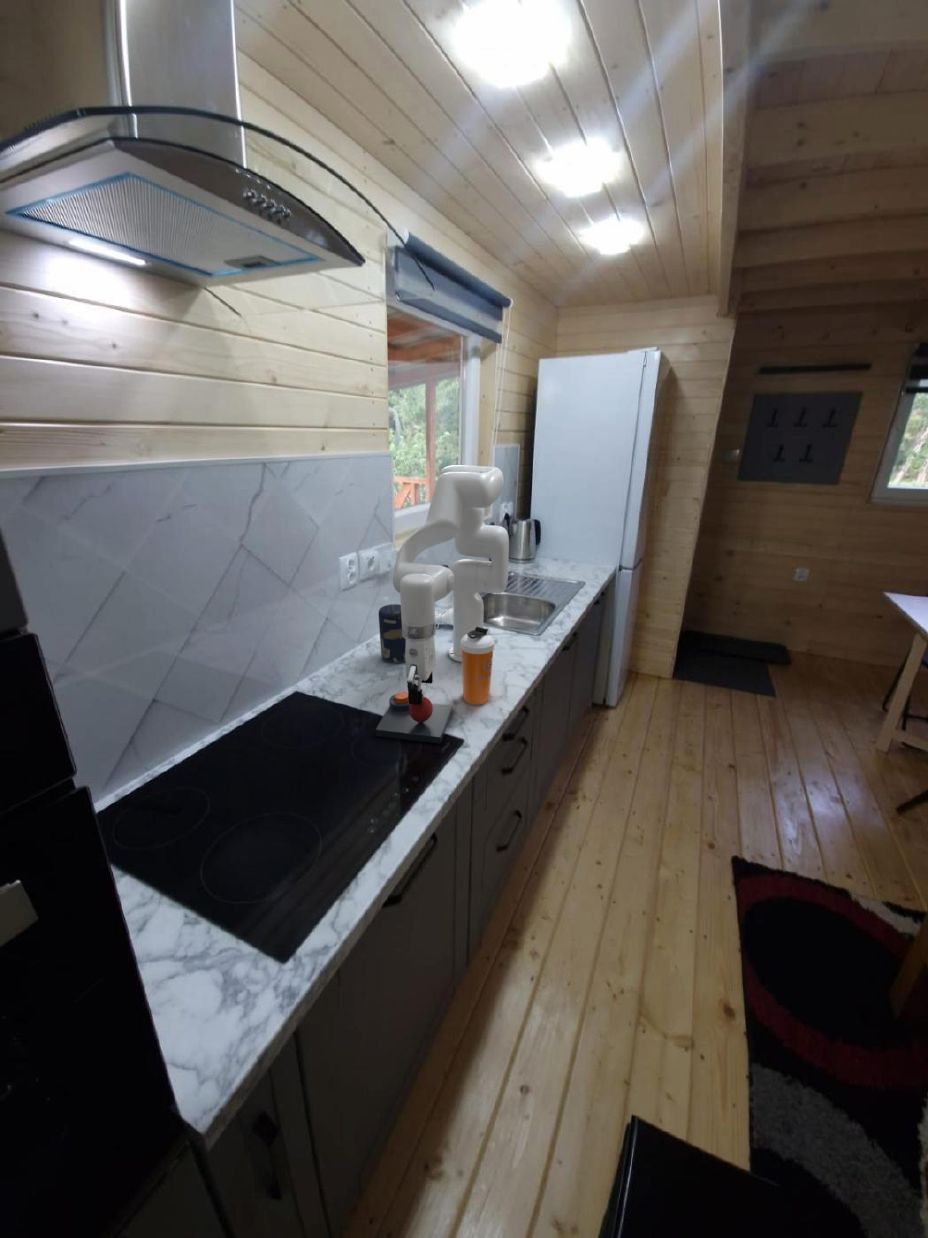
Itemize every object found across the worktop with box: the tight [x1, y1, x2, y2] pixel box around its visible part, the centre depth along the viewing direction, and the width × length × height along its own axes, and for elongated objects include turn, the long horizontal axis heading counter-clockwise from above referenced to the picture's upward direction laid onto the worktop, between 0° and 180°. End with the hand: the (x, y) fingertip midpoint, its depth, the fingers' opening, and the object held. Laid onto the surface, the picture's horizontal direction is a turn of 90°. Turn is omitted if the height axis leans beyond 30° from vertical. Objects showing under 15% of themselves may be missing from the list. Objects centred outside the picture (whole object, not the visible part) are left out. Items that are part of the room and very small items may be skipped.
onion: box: [409, 693, 433, 723], centre depth 120 cm, size 6×6×8 cm
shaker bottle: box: [461, 627, 495, 706], centre depth 132 cm, size 9×9×20 cm
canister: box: [378, 603, 406, 663], centre depth 155 cm, size 10×10×18 cm
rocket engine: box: [435, 607, 453, 629], centre depth 181 cm, size 12×12×18 cm
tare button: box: [394, 691, 408, 704], centre depth 128 cm, size 4×4×2 cm
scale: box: [375, 694, 453, 745], centre depth 124 cm, size 15×16×4 cm
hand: (421, 693), depth 119 cm, fingers open, 9 cm apart
